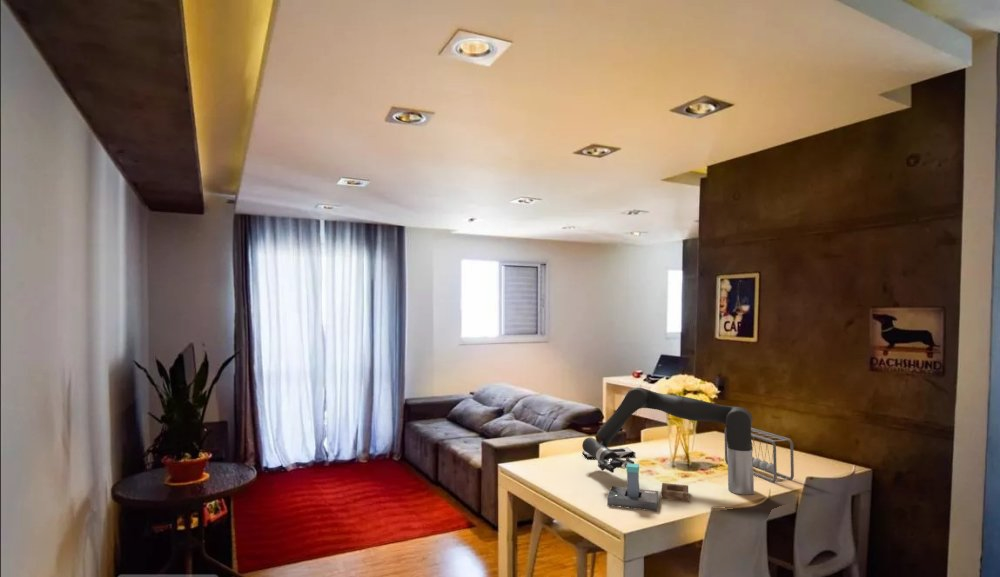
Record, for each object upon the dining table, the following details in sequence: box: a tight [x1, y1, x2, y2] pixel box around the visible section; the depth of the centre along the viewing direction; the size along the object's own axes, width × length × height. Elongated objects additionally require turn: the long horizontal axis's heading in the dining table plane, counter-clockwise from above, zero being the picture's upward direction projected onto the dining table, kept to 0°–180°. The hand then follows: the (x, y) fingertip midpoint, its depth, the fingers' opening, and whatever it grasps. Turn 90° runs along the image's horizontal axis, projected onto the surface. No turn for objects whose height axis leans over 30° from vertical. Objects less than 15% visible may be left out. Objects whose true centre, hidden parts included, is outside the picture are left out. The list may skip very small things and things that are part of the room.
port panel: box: [606, 485, 660, 512], centre depth 206 cm, size 18×13×3 cm
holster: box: [660, 482, 689, 503], centre depth 212 cm, size 10×10×3 cm
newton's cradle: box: [724, 427, 795, 483], centre depth 242 cm, size 30×10×18 cm, turn 18°
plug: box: [625, 463, 640, 498], centre depth 206 cm, size 4×4×14 cm
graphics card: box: [581, 446, 636, 460], centre depth 269 cm, size 10×3×25 cm
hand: (623, 469), depth 215 cm, fingers open, 8 cm apart
